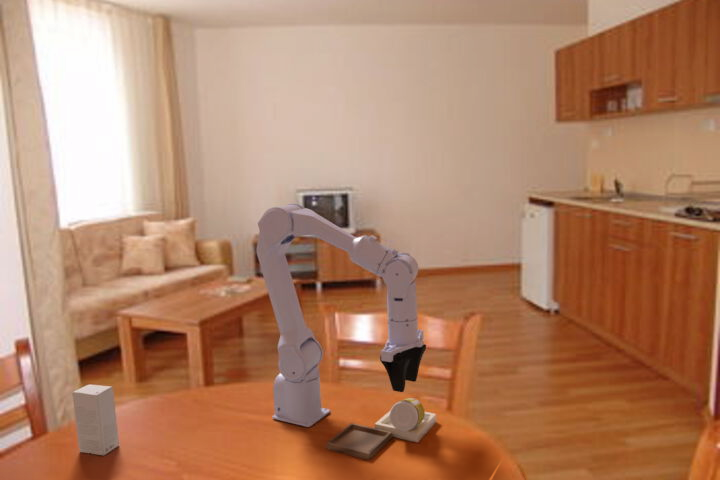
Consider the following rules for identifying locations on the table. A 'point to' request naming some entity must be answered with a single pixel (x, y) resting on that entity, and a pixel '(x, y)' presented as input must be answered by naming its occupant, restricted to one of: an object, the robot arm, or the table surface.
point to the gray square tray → (359, 441)
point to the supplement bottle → (407, 414)
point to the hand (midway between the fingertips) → (404, 385)
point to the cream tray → (412, 434)
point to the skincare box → (96, 419)
